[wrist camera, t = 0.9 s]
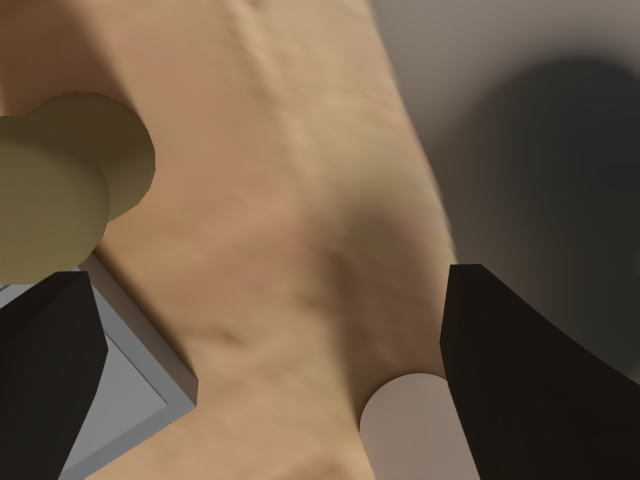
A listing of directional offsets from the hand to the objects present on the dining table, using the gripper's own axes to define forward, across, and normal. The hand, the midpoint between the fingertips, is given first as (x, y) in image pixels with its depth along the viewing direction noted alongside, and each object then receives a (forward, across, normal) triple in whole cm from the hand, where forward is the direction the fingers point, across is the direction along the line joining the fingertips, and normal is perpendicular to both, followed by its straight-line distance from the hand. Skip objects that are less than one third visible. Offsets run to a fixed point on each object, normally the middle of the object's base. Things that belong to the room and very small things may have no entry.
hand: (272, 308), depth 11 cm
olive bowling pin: (+16, +10, +3) cm, 19 cm away
